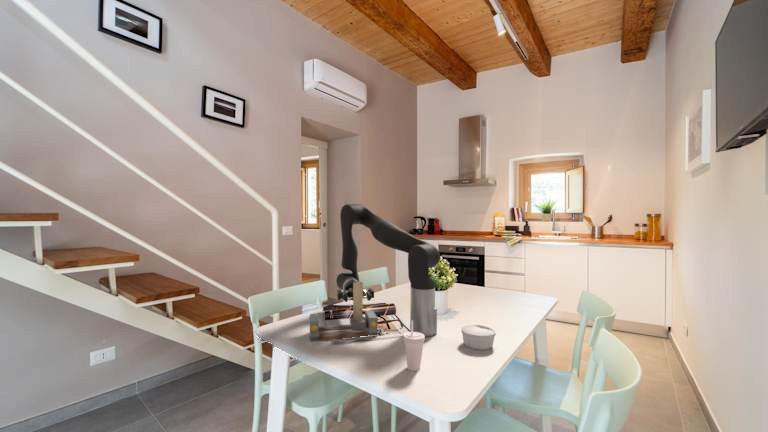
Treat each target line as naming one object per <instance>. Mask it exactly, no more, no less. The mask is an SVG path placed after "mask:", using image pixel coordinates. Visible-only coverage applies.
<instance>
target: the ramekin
mask: <svg viewBox="0 0 768 432" xmlns="http://www.w3.org/2000/svg"><path fill="white" fill-rule="evenodd" d="M461 333H462V339H463V344H464V345H465V346H466V347H468V348H469V349H473V350H477V351H478V350H479V351H487V350H490V349H491V348H492V347H493V345H494V341H495V336H496V330H495V329H493V328H491V327H489V326H485V325H480V324H468V325H467V324H466V325H464V326H463V327H461Z"/></svg>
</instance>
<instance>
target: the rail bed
mask: <svg viewBox="0 0 768 432" xmlns="http://www.w3.org/2000/svg"><path fill="white" fill-rule="evenodd" d="M373 334H374V335H376V334H377V335H378V331H377V332H376V333H373ZM368 335H371V334H370V333H369V329H368V328H366V329H355V330H352V327H351V325H350V324H339V325H327V326H326V325H325V326H323V325H322V326H319V337H317V339H316V337H312V340H313V338H315V339H316V340H317V341H316V342H322V341H335V340H334V339H339V340H344V339H343V338H352V337H360V336H368ZM318 338H319V341H318ZM352 339H353V338H352ZM313 342H315V341H314V340H313Z"/></svg>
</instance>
